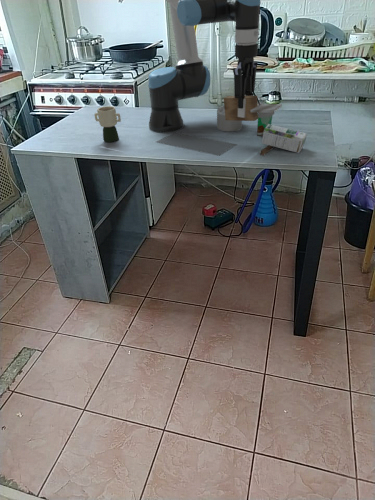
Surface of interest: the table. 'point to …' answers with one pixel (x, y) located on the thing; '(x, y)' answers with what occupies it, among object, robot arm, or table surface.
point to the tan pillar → (247, 108)
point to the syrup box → (283, 138)
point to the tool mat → (197, 143)
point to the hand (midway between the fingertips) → (243, 115)
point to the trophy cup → (108, 122)
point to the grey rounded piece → (226, 121)
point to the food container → (263, 122)
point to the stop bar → (266, 150)
